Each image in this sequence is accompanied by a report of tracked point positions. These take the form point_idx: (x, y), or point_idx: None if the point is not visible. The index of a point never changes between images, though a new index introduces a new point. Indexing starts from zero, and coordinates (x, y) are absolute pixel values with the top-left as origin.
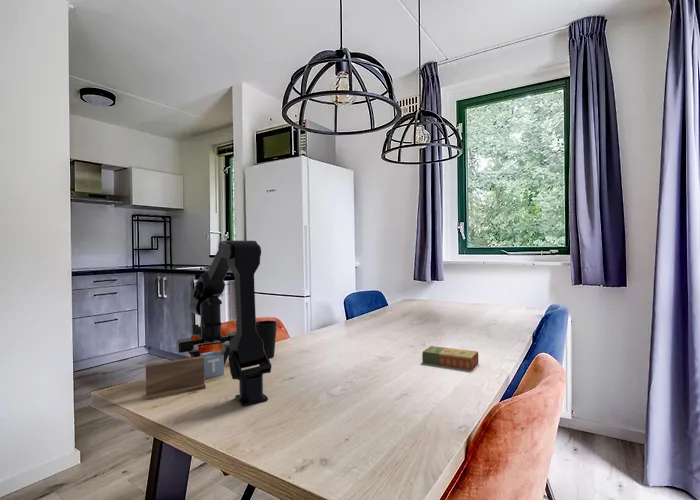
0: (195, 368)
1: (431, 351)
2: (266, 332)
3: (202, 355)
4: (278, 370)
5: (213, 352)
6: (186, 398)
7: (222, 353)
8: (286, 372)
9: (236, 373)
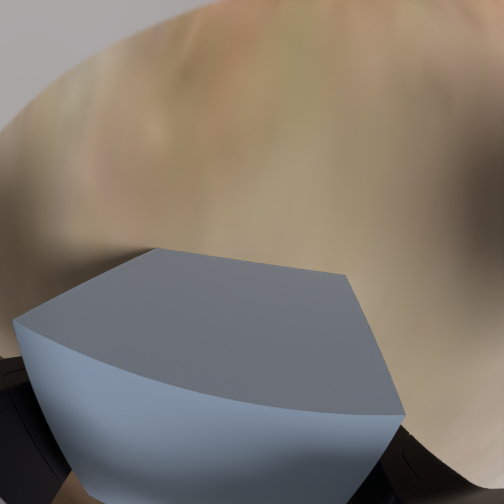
0: None
1: None
2: None
3: (67, 435)
4: (500, 460)
5: (246, 451)
6: None
7: (362, 496)
8: (487, 483)
9: None
